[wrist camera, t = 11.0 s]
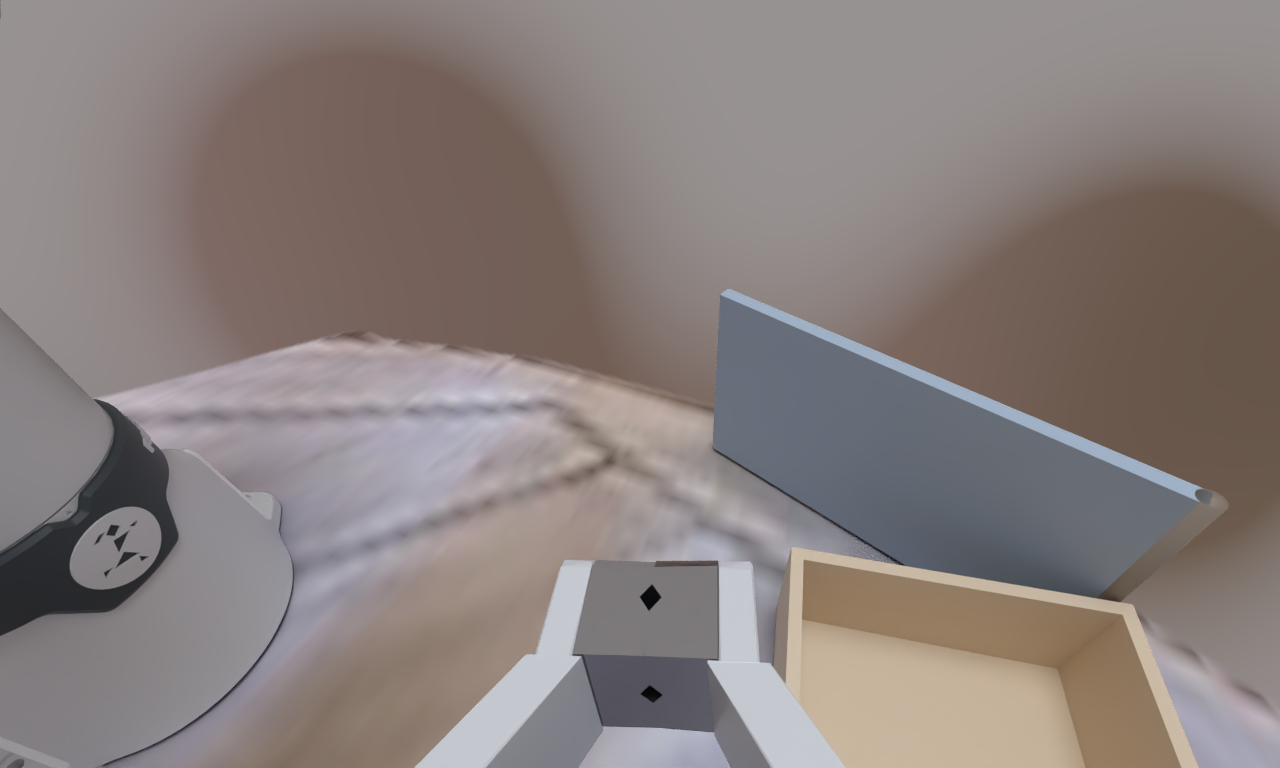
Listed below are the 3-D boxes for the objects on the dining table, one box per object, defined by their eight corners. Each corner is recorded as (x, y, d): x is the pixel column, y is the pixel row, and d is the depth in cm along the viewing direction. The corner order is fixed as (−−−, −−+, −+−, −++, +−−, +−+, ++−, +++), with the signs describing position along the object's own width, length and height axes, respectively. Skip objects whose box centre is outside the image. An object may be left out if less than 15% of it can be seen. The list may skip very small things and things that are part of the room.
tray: (761, 869, 25) (778, 843, 20) (776, 609, 33) (791, 546, 28) (1153, 981, 22) (1285, 982, 17) (1061, 664, 30) (1132, 604, 25)
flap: (711, 448, 42) (719, 295, 33) (719, 440, 43) (729, 287, 33) (1057, 660, 30) (1226, 515, 21) (1063, 645, 31) (1230, 498, 21)
